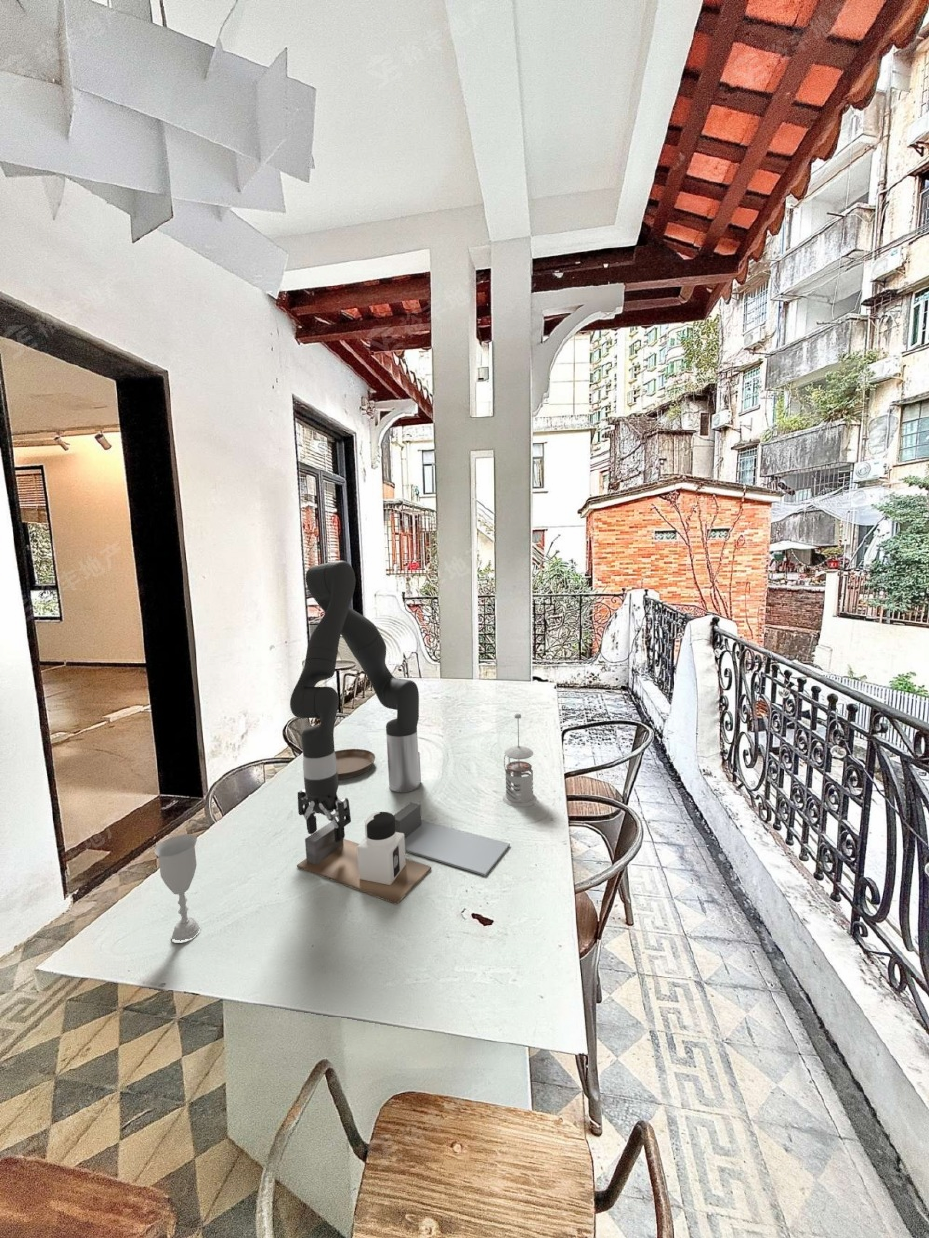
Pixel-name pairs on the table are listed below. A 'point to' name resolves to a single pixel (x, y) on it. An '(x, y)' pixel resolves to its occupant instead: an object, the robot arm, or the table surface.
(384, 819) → the container
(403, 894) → the brown board
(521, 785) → the french press
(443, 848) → the grey board with block
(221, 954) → the table surface
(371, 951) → the table surface
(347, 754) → the plant saucer
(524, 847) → the table surface
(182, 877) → the chalice
